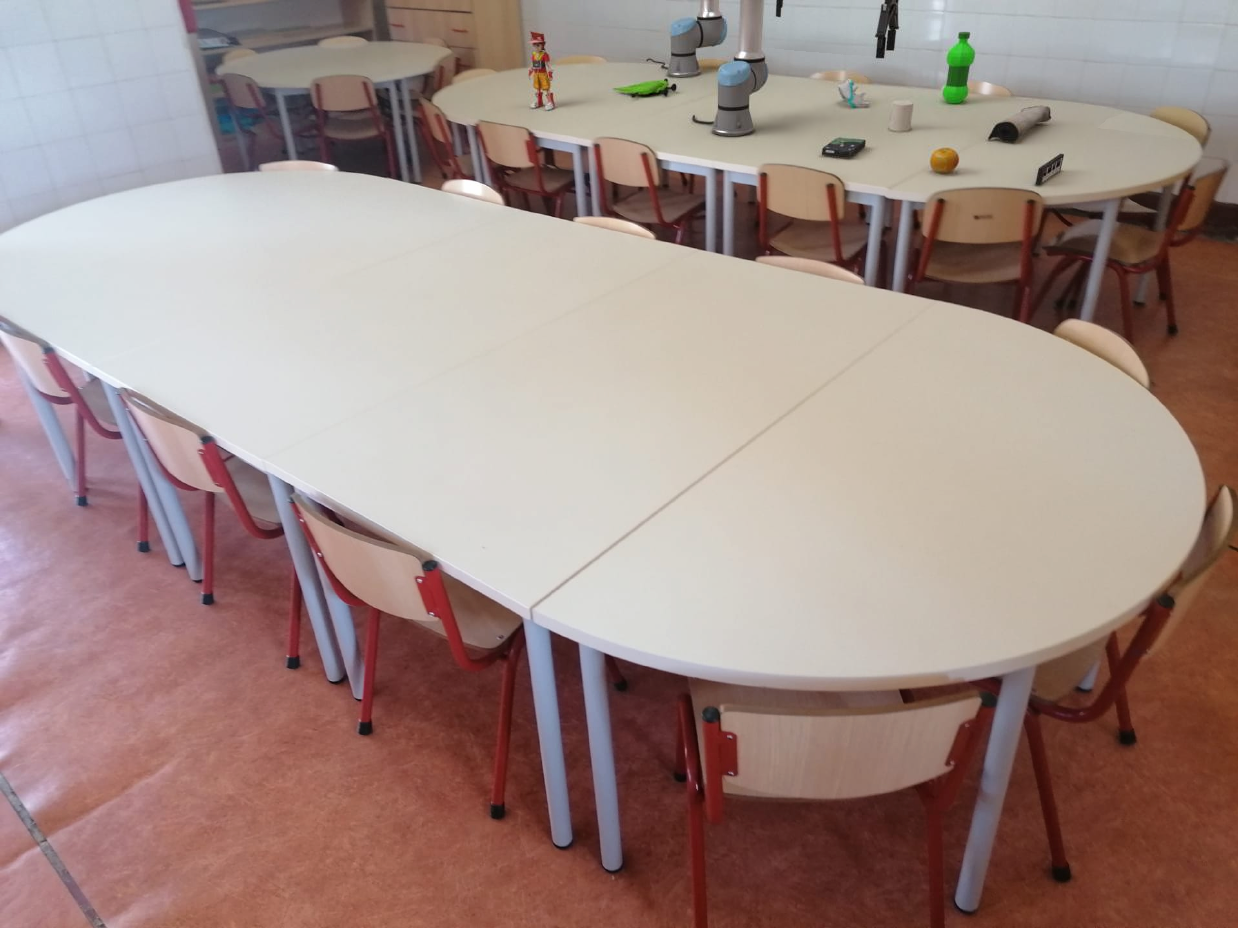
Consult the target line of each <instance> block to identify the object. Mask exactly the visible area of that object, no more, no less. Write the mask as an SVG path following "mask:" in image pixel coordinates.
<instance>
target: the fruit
mask: <svg viewBox="0 0 1238 928" xmlns="http://www.w3.org/2000/svg"><path fill="white" fill-rule="evenodd" d="M959 163H960V156H959V154H958V152H957V151H956V150H955V149H953V148H951V147H942V148H938V149H936V150H934V151H933V153H932V154H931V155H930V159H929V166H930V168H931V169H932V170H933V171H934V172H936V173H939V174H940V173H943V174H944V173H945V174H946V173H951V172H953V171H954V170H956V168H957V167H958V165H959Z"/></svg>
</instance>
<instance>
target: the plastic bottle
mask: <svg viewBox="0 0 1238 928" xmlns="http://www.w3.org/2000/svg"><path fill="white" fill-rule="evenodd" d="M970 36H971V32H970V31H959V32H958V36H957V39H958V42H957V43H956V44H954V45H953V46H952V47H951V48H950V49H949V50H948V52H947V54H946V63H947V64H948V69H947V70H948V71H947V76H946V77H947V78H946V84H945V85H944V87H943V90H942V97H943V99H944V100H945V101H946V102H947V103H948V104H960V103H961V102H963V101H964V100H966V98H967V96H968V95H969V85H968V79H969V73H970V67H971V65H972V64H973V63H974V61H975V57H976V51H975V49H974V47H972V45H971V44H970V43H969V42H968V41H969V39H970V38H971V37H970Z"/></svg>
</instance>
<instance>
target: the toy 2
mask: <svg viewBox="0 0 1238 928" xmlns="http://www.w3.org/2000/svg"><path fill="white" fill-rule="evenodd" d="M669 85H670V83H669V79H668V78H664V79H663V80H649V81H644V82H640V83H634V84H629V85H627V86H621V87H613V88H612V89H613V90H616V91H619V92H623V93H627V94H628V93H629V94H631V95H630V96H631V98H632V99H634V98H636V96H637V95H650V94H652V93H654V94H658V93H662V95H663V96H665V97H667V96H668V95H669V90H671V91H672V92H676V91H677V84H676V83H672V84H671V86H669Z"/></svg>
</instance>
